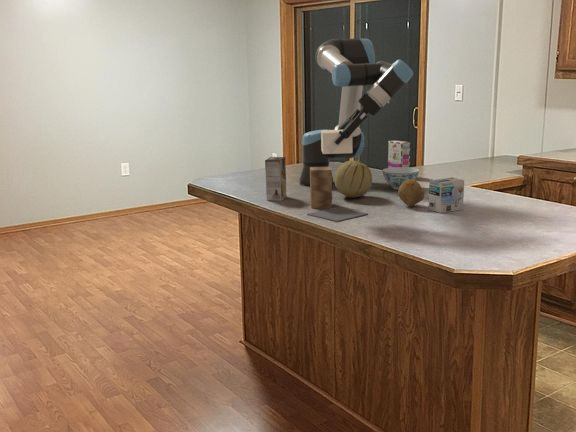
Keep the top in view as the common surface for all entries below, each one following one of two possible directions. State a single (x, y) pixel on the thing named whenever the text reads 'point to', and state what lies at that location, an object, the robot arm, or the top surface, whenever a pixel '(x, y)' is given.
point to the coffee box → (275, 178)
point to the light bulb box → (446, 195)
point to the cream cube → (329, 136)
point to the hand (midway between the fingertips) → (327, 148)
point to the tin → (321, 187)
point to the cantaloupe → (353, 179)
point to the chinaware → (399, 175)
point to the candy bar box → (398, 154)
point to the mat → (337, 214)
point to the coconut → (410, 192)
